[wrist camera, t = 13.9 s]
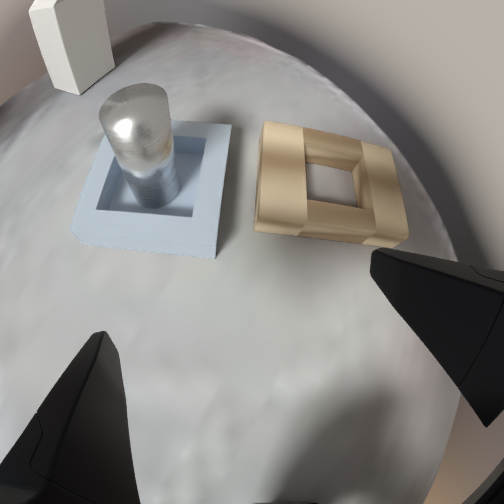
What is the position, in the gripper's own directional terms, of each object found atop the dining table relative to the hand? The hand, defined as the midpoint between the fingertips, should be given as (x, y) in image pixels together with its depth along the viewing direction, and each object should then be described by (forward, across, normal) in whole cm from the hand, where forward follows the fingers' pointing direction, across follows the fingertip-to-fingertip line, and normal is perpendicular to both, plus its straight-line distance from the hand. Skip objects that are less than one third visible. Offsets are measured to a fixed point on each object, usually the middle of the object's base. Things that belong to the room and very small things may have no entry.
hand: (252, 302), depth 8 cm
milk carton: (+36, +11, -17) cm, 42 cm away
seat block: (+19, +3, 0) cm, 19 cm away
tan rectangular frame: (+16, -13, +3) cm, 21 cm away
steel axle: (+19, +3, 0) cm, 19 cm away
